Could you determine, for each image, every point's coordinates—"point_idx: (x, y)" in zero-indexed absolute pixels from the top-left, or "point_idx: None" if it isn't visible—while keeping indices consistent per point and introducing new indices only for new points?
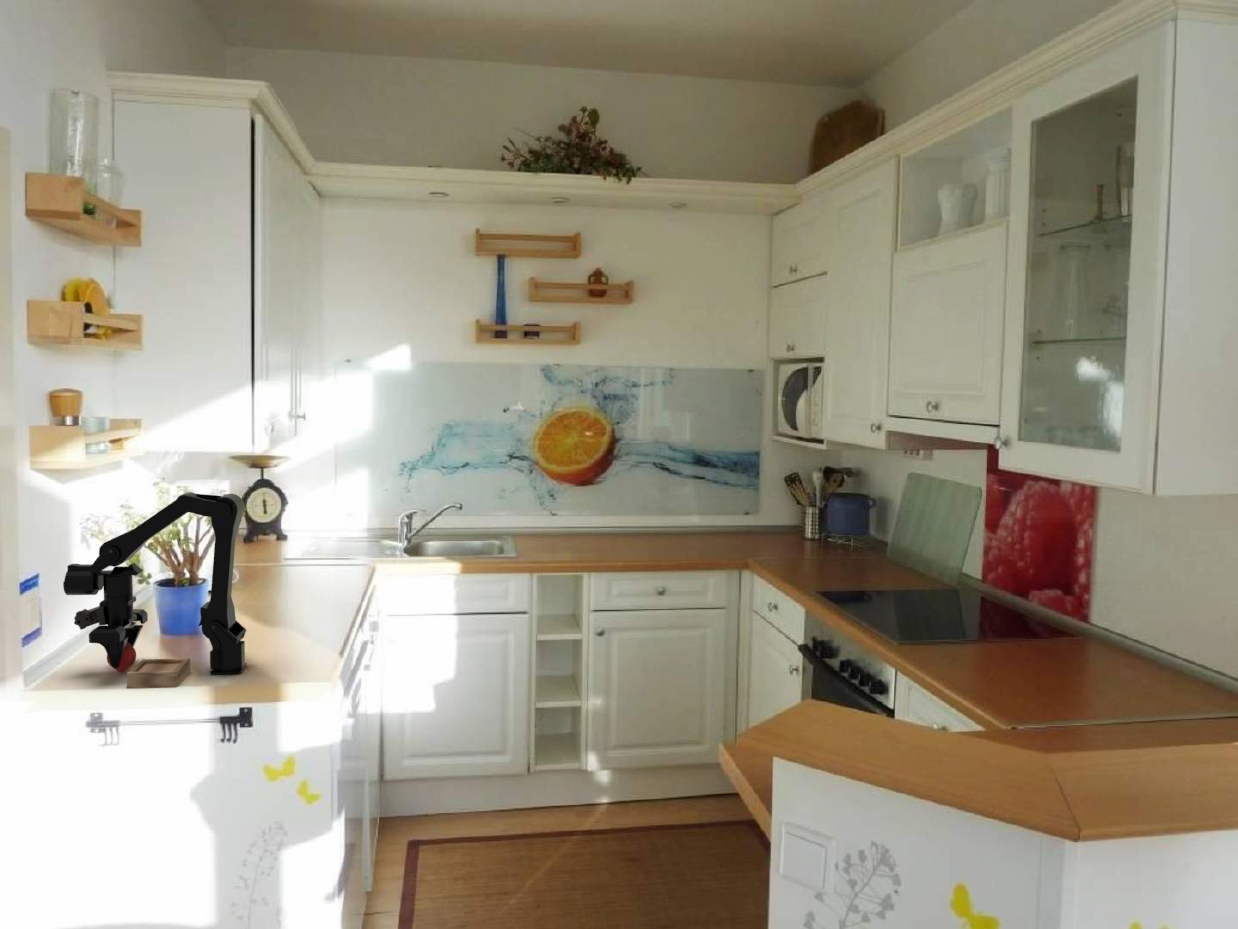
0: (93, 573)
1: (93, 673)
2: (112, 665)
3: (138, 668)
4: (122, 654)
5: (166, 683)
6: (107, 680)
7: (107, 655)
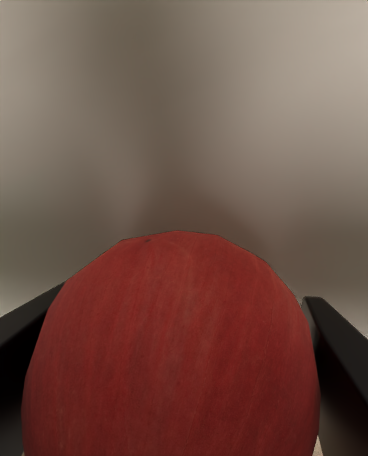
0: None
1: (184, 59)
2: (49, 296)
3: None
4: (20, 441)
5: None
6: (41, 229)
7: (71, 295)
